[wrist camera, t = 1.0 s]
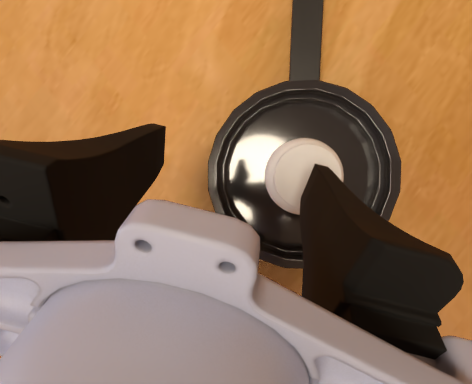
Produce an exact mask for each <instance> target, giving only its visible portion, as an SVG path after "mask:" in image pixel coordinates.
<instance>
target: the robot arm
mask: <svg viewBox="0 0 472 384" xmlns="http://www.w3.org/2000/svg"><path fill="white" fill-rule="evenodd" d="M165 129H166V127H165V126H161V125H157V124H147V125H143V126H139V127H136V128H132V129H129V130H125V131H122V132H118V133H113V134H109V135H105V136H101V137H95V138H89V139H82V140H72V141H58V142H23V141H8V140H0V356H2V357H1V359H0V384H472V340H468V339H464V338H460V337H456V336H443V337H441V336H440V333H439V331H438V329H437V327H439V326H440V325H441V320H440V318H439V316H438V312H439V311H440V310H441V309H442V308H443V307H444V306H445V305H446V304H448V303H449V302H450V301H451V300H452V299H453V298H454V297H455V296H456V295H457V293H458V292H459V291H460V290H461V288H462V285H463V282H464V281H463V274H462V273H461V271H460V269H459V268H458V266H457V264H456V263H455V261H454V260H453V258H452V256H451V255H450V254H449V253H447V252H444V251H442V250H440V249H438V248H436V247H433V246H431V245H429V244H427V243H425V242H423V241H421V240H419V239H417V238H415V237H413V236H411V235H409V234H408V233H406V232H404V231H402V230H401V229H399V228H397V227H396V226H394V225H393V224H391V223H390V222H388V221H387V220H385V219H384V218H382V217H381V216H379V215H378V214H377V213H375V212H374V211H373V210H372V209H370V208H369V207H368V206H367V205H365V204H364V203H363V202H362V201H361V200H360V199H359V198H358V197H357V196H356V195H355V194H354V193H353V192H352V191H351V190H350V189H349V188H348V187H347V186H346V185H345V184H344V183H343V182H342V181H341V180H340V179H339V177H338V176H337V175H336V174H335V173H334V172H333V171H332V170H331V169H330V168H329V167H327V166H323V165H319V164H314V167H313V169H312V172H311V174H310V177H309V179H308V182H307V184H306V186H305V189H304V191H303V194H302V196H301V201H300V226H301V236H302V246H303V284H302V296H300V295H298V294H296V293H295V292H293V291H291V290H289V289H287V288H285V287H283V286H281V285H280V284H278V283H276V282H274V281H272V280H270V279H268V278H267V277H265V276H263V275H261V274H259V273H258V265H259V256H260V237H259V235H258V234H257V233H256V231H255V230H254V229H253V227H252V226H251V225H249V224H247V223H245V222H243V221H241V220H239V219H237V218H234V217H230V216H226V215H222V214H218V213H214V212H210V211H206V210H202V209H198V208H194V207H190V206H186V205H182V204H178V203H174V202H170V201H166V200H151V199H147V200H145V201H143V202H142V203H140V204H138V205H137V203H138V202H139V201H140V199H141V198H142V197H143V195H144V194H145V193H146V191H147V190H148V189H149V187H150V186H151V185H152V183H153V182H154V181H155V179H156V178H157V176H158V174H159V172H160V170H161V168H162V166H163V164H164V149H165ZM133 208H134V209H133ZM436 326H437V327H436Z"/></svg>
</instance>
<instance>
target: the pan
mask: <svg viewBox="0 0 472 384" xmlns="http://www.w3.org/2000/svg"><path fill="white" fill-rule="evenodd" d="M298 138H311V139H316V140H319V141H321V142H323V143H325V144H326V145H328V146H329V147H330V148H332V149H333V150H334V151H335V153H336V154H337V155H338V157H339V159H340V161H341V163H342V167H343V172H344V180H343V183H344V184H345V185H346V186H347V187H348V188H349V189H350V190H351V191H352V192H353V193H354V194H355V195H356V196H357V197H358V198H359V199H360V200H361V201H362V202H363V203H364V204H365V205H367V206H368V207H369V208H370V209H372V210H373V211H374V212H375V213H377V214H378V215H379V216H381V217H382V218H384V219H385V220H387V221H388V220H389V219H390V217H391V214H392V211H393V209H394V206H395V204H396V201H397V198H398V196H399V193H400V184H401V159H400V156H399V152H398V149H397V146H396V143H395V140H394V137H393V134H392V131H391V129H390V128H389V126H388V125H387V124H386V122H385V121H384V120H383V119H382V117H381V116H380V115H379V113H378V112H377V111H376V109H375V108H374V107H373V106H372V105H371V104H370V103H368V102H367V101H365V100H364V99H362V98H361V97H359V96H358V95H356V94H355V93H354V92H352V91H351V90H349V89H348V88H345V87H342V86H338V85H334V84H331V83H327V82H323V81H319V80H298V81H285V82H282V83H279V84H277V85H274V86H271V87H269V88H266V89H263V90H261V91H258V92H256V93H255V94H253V95H252V96H251V97H249V98H248V99H247V100H246V101H244V102H243V103H242V104H241V105H239V106H238V107H237V108H236V109H234V110H233V111H232V113H231V114H230V116H229V117H228V119H227V120H226V122H225V123H224V125H223V126H222V127H221V129H220V130H219V132H218V133H217V135H216V138H215V141H214V144H213V148H212V151H211V154H210V157H209V161H208V191H209V194H210V197H211V200H212V204H213V207H214V210H215V213H218V214H222V215H226V216H230V217H234V218H237V219H239V220H241V221H243V222H245V223H247V224H249V225H251V226H252V227H253V229H254V230H255V231H256V233H257V234H258V235H259V237H260V256H259V259H261V260H264V261H266V262H269V263H272V264H275V265H277V266H280V267H284V268H300V269H303V246H302V236H301V226H300V215H298V214H293V213H290V212H288V211H286V210H284V209H282V208H281V207H279V206H278V205H277V204H276V203H275V202H274V201H273V200H272V198H271V197H270V195H269V193H268V191H267V188H266V185H265V169H266V165H267V162H268V160H269V158H270V156H271V155H272V154H273V152H274V151H275V150H276V149H277V148H278V147H280V146H281V145H282V144H284V143H286V142H288V141H290V140H293V139H298Z"/></svg>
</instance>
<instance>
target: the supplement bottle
mask: <svg viewBox="0 0 472 384" xmlns="http://www.w3.org/2000/svg"><path fill="white" fill-rule="evenodd" d="M314 164H319V165H323V166H327V167H329V168H330V169H331V170H332V171H333V172H334V173H335V174H336V175H337V176H338V177H339V179H340V180H341V181H342V182H343V180H344V172H343V167H342V163H341V161H340V159H339V157H338V155H337V154H336V153H335V151H334V150H333V149H332V148H330V147H329V146H328V145H326V144H325V143H323V142H321V141H319V140H316V139H311V138H298V139H293V140H290V141H288V142H286V143H284V144H282V145H281V146H280V147H278V148H277V149H276V150H275V151H274V152H273V154H272V155H271V156H270V158H269V160H268V162H267V165H266V169H265V185H266V188H267V191H268V193H269V195H270V197H271V198H272V200H273V201H274V202H275V203H276V204H277V205H278V206H279V207H281V208H282V209H284V210H286V211H288V212H290V213H293V214H298V215H300V201H301V196H302V194H303V191H304V189H305V186H306V184H307V182H308V179H309V177H310V174H311V172H312V169H313V167H314Z"/></svg>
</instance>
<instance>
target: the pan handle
mask: <svg viewBox="0 0 472 384" xmlns="http://www.w3.org/2000/svg"><path fill="white" fill-rule="evenodd" d="M322 20H323V0H293V4H292V27H291V51H290V74H289V81H298V80H319V81H320V60H321V40H322Z"/></svg>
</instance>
